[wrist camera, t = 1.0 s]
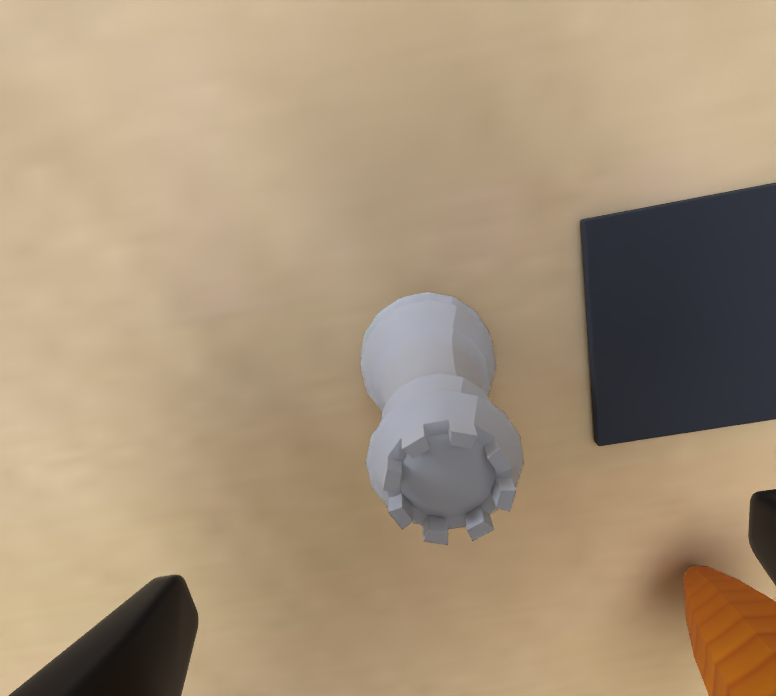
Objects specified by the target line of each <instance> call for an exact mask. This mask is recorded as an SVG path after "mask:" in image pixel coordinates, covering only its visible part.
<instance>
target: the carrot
mask: <svg viewBox="0 0 776 696" xmlns="http://www.w3.org/2000/svg"><path fill="white" fill-rule="evenodd" d="M684 597H685V611H686V621H687V625H688V630H689V635H690V639H691V644H692V649H693V653H694V658H695V660H696V663H697V665H698V668H699V671H700V673H701V676H702V679H703V681H704V684H705V686H706V689H707V692H708V694H709V696H776V602H775V601H774V600H772V599H771V598H769V597H767V596H765V595H764V594H762V593H760V592H759V591H757V590H755V589H753V588H752V587H750V586H748V585H746V584H745V583H743V582H741V581H740V580H738V579H735V578H733V577H731V576H728V575H726V574H724V573H721V572H719V571H716V570H714V569H712V568H709V567H707V566H690V567H689V568H688V569H687V571H686V573H685V574H684Z"/></svg>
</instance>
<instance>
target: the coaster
mask: <svg viewBox="0 0 776 696" xmlns="http://www.w3.org/2000/svg"><path fill="white" fill-rule="evenodd" d="M581 235H582V250H583V266H584V282H585V298H586V313H587V329H588V345H589V361H590V376H591V392H592V408H593V424H594V440H595V442H596V443H597V445H598V446H603V445H610V444H616V443H623V442H629V441H636V440H642V439H649V438H655V437H662V436H668V435H675V434H681V433H688V432H694V431H701V430H707V429H714V428H720V427H727V426H733V425H740V424H746V423H753V422H760V421H766V420H773V419H776V183H772V184H766V185H761V186H756V187H751V188H745V189H740V190H735V191H729V192H724V193H719V194H714V195H708V196H703V197H698V198H693V199H687V200H682V201H677V202H671V203H666V204H661V205H656V206H650V207H645V208H640V209H634V210H629V211H624V212H619V213H613V214H608V215H603V216H598V217H592V218H587V219H582V220H581Z"/></svg>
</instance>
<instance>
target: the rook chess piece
mask: <svg viewBox="0 0 776 696" xmlns="http://www.w3.org/2000/svg"><path fill="white" fill-rule="evenodd" d="M360 359H361V371H362V375H363V379H364V383H365V387H366V391H367V393H368V394H369V396H370V397H371V398H372V400H373V401H374V402H375V404H376V405H377V406H378V407H379V409H380V410H381V411H382V417H381V422H380V425H379V426H378V427H377V429H376V430H375V431H374V433H373V434H372V436H371V439H370V444H369V449H368V455H367V460H366V466H367V469H368V473H369V477H370V481H371V485H372V489H373V490H374V491H375V492H376V494H377V495H378V496H379V497H380V499H381V500H382V501H383V502H384V504H385V505H386V506H387V507H388V513H389V514H390V515H391V516H392V518H393V519H394V520H395V521H396V522H397V524H398V525H399V526H400V527H401V529H402V530H403V529H404V528H405V527H406V526H408V525H409V524H410V523H411V522H412V523H414V524H418V525H421V526H422V530H423V541H425V542H431V543H437V544H443V545H448V529H452V528H458V527H464V526H467V530H468V533H469V535H470V537H471V539H472V541H474V540H476V539H478V538H479V537H481V536H483V535H485V534H487V533H489V532H491V531H493V530H494V528H493V524H492V520H491V517H490V514H491V513H493V512H495V511H496V510H498V508H500V509H502V510H505V511H508V512H510V509H511V506H512V503H513V500H514V496H515V493H516V486H517V483H518V480H519V476H520V473H521V470H522V467H523V464H524V460H523V453H522V446H521V439H520V435H519V433H518V432H517V431H516V429H515V428H514V426H513V425H512V423H511V422H510V420H509V419H508V417H507V416H506V414H505V413H504V412H503V411H502V410H500V409H498V408H497V407H495V406H494V405H493V404H492V402H491V401H490V399H489V398H488V396H487V395H488V394H489V391H490V387H491V384H492V380H493V376H494V373H495V369H496V362H495V355H494V349H493V342H492V340H491V339H490V333H489V331H488V330H487V328H486V326H485V325H484V323H483V322H482V320H481V319H480V317H479V316H478V314H477V313H476V311H474V310H473V309H471V308H470V307H468V306H467V305H465V304H464V303H462V302H461V301H459V300H458V299H456V298H455V297H451V296H446V295H441V294H435V293H430V292H425V293H420V294H415V295H410V296H406V297H401V298H399V299H398V300H396V301H395V302H393V303H392V304H390V305H389V306H387V307H386V308H384V309H383V310H381V311H380V312H378V314H377V316H376V317H375V319H374V320H373V322H372V323H371V325H370V326H369V328H368V329H367V331H366V332H365V334H364V339H363V345H362V351H361V357H360Z"/></svg>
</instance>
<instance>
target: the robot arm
mask: <svg viewBox="0 0 776 696" xmlns="http://www.w3.org/2000/svg"><path fill="white" fill-rule="evenodd" d="M748 536H749V543H750V546H751V548H752V550H753V553H754V554H755V556H756V557H757V559H758V560H759V562H760V563H761V565H762V566H763V568H764V569H765V571H766V572H767V574H768V575H769V577H770V578H771V580H772V581H773V582H774V584H775V585H776V489H773V490H766V491H759V492H756V493H754V494H753V495H752V497H751V500H750V513H749V533H748ZM197 629H198V613H197V609H196V607H195V604H194V602H193V599H192V597H191V594H190V592H189V589H188V587H187V584H186V582H185V580H184V578H183V577H182V576H180V575H170V576H163V577H158V578H155V579H153V580H152V581H150V582H149V583H148V584H147V585H145V586H144V587H143V588H142V589H140V590H139V591H138V592H137V593H135V594H134V595H133V596H132V597H130V598H129V599H128V600H127V601H125V602H124V603H123V604H122V605H120V606H119V607H118V608H117V609H115V610H114V611H113V612H112V613H111V614H109V615H108V616H107V617H106V618H104V619H103V620H102V621H101V622H99V623H98V624H97V625H96V626H94V627H93V628H92V629H91V630H89V631H88V632H87V633H86V634H84V635H83V636H82V637H81V638H79V639H78V640H77V641H76V642H75V643H73V644H72V645H71V646H70V647H68V648H67V649H66V650H65V651H63V652H62V653H61V654H60V655H58V656H57V657H56V658H55V659H53V660H52V661H51V662H50V663H48V664H47V665H46V666H45V667H43V668H42V669H41V670H40V671H38V672H37V673H36V674H35V675H34V676H32V677H31V678H30V679H29V680H27V681H26V682H25V683H24V684H22V685H21V686H20V687H19V688H17V689H16V690H15V691H14V692H12V693H11V694H10V695H9V696H181V694H182V690H183V686H184V682H185V678H186V674H187V670H188V666H189V662H190V658H191V653H192V649H193V645H194V641H195V637H196V633H197Z"/></svg>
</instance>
